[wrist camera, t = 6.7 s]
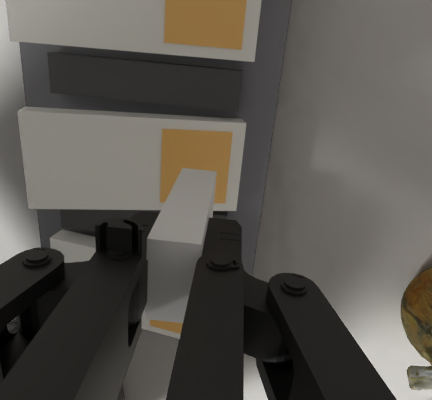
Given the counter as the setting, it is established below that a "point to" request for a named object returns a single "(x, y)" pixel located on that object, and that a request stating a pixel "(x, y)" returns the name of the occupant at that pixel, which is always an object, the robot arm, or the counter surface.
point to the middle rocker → (124, 157)
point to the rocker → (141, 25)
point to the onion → (419, 326)
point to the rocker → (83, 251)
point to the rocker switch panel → (168, 106)
